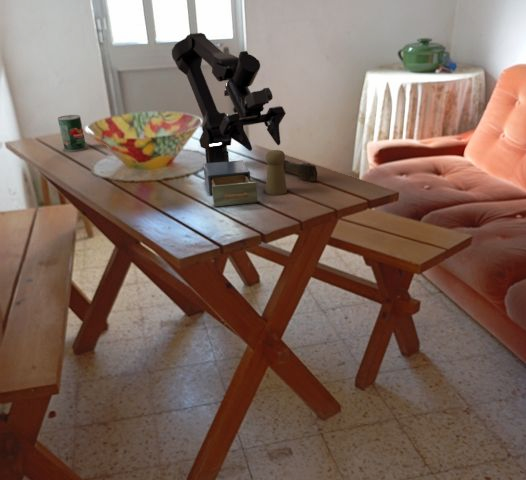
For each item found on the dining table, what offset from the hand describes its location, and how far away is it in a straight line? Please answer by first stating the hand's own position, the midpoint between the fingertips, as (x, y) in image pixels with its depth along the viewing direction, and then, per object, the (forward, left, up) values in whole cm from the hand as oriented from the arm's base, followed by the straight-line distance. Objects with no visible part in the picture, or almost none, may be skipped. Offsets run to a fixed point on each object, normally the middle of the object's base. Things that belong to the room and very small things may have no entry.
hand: (265, 147), depth 153 cm
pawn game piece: (+4, -2, -11) cm, 12 cm away
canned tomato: (-88, +14, -11) cm, 90 cm away
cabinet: (-11, -4, -11) cm, 16 cm away
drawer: (-3, -13, -11) cm, 17 cm away
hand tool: (+3, +13, -11) cm, 18 cm away
